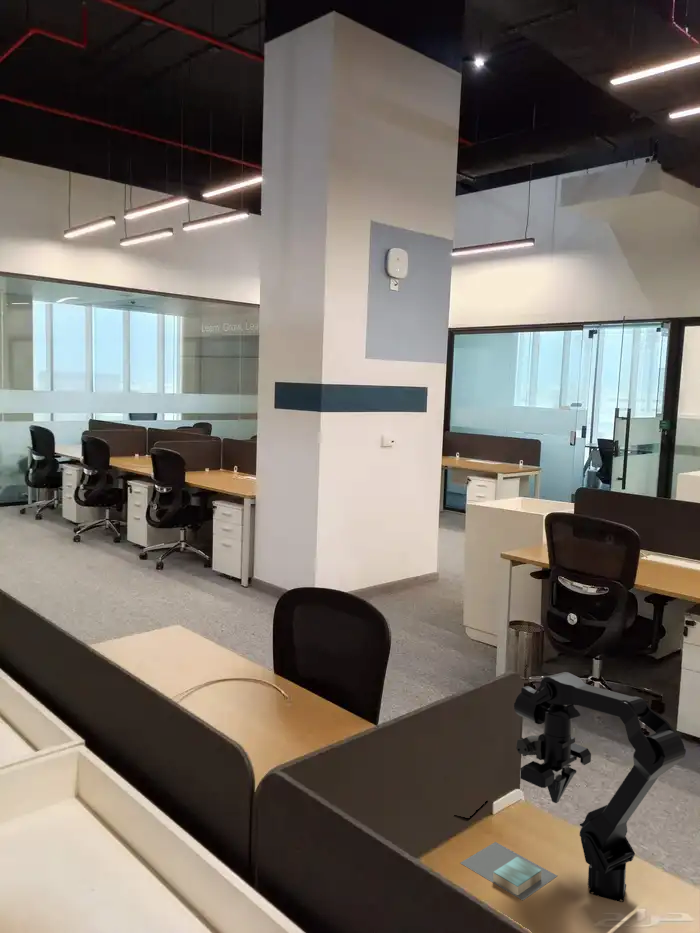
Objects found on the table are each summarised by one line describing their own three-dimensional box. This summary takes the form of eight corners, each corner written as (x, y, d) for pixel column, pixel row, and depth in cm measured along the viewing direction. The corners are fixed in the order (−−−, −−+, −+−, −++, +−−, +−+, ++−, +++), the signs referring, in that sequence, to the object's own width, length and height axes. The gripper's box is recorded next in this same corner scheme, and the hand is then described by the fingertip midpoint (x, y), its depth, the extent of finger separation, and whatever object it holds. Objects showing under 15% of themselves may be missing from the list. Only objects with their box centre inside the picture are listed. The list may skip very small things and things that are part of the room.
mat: (557, 878, 155) (557, 875, 155) (522, 903, 147) (522, 900, 147) (495, 844, 167) (495, 841, 167) (459, 865, 159) (459, 862, 159)
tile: (541, 869, 154) (517, 885, 149) (541, 879, 154) (517, 895, 149) (517, 856, 158) (493, 871, 153) (517, 865, 159) (493, 881, 153)
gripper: (549, 709, 174) (547, 774, 175) (500, 731, 161) (498, 801, 162) (593, 724, 165) (590, 793, 166) (544, 749, 153) (542, 823, 154)
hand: (555, 801), depth 163 cm, fingers closed
